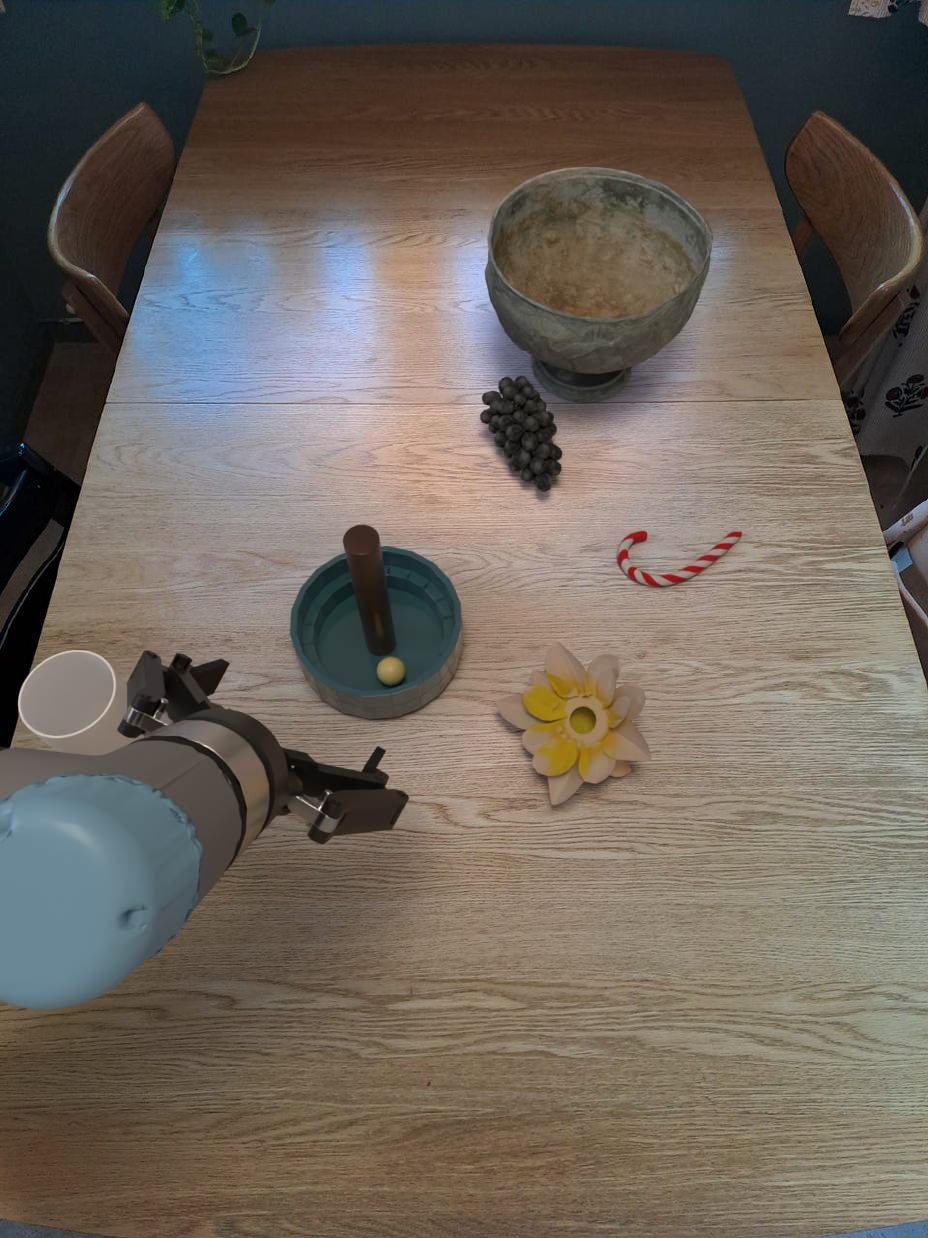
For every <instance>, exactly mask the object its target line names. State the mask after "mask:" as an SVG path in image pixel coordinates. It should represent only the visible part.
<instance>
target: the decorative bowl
mask: <svg viewBox="0 0 928 1238" xmlns="http://www.w3.org/2000/svg"><path fill="white" fill-rule="evenodd" d="M713 241H714V236H713V231H712V227H711V226H710V224H709V223H708V221H707V220H706V219H705V217H704V216H703V215H702V214H701V213H700V212H699V211H698V210H697V208H696V207H695V206H694V205H693V204H692V203H690V201H689V200H687V199H686V198H685V197H684V196H683V195H681V194H680V193H679V192H677V191H676V190H674V189H673V188H671V186H669V185H666V184H664V183H662V182H660V181H658V180H655V179H652V178H647V177H646V176H643V175H641V174H637V173H633V172H630V171H627V170H620V169H615V168H607V167H606V168H605V167H601V166H600V167H598V166H575V167H573V166H572V167H564V168H559V169H554V170H551V171H547V172H544V173H542V174H538V175H536V176H533V177H532V178H530V179H527V180H525V181H523V182H522V183H520V184H519V185H518V186H515V188H513V189H512V190H511V191H510V192H509V193H507V194H506V195H504V197H503V198H502V199H501V201H500V202H499V203H498V205H497V206H496V208H495V209H494V211H493V213H492V216H491V220H490V223H489V228H488V234H487V249H488V250H487V263H486V266H485V269H484V280H485V285H486V288H487V292H488V293H487V294H488V297H489V301H490V303H491V305H492V308H493V310H494V311H495V314H496V316H497V318H498V321H499V323H500V326H501V328H502V330H503V332H504V333H505V334H506V336H507V337H508V339H510V341H511V342H512V343H513V344H514V345H515V347H516V346H517V348H519V349H521V351H524V352H526V353H528V354H529V355H531V356H530V367H531V370H532V373H533V375H534V377H535V378H536V380H537V381H538V383H539V385H541V386H542V387H543V388H544V389H545V390H546V391H547V392H548V393H550V394H552V395H554V397H555V396H556V397H557V398H559V399H563V400H567V401H570V402H577V403H593V402H598V401H603V400H605V399H608V398H611V397H613V396H615V395H616V394H618V393H619V392H621V391H622V390H623V389H624V388H625V387H626V386H627V384H628V383H629V381H630V379H631V375H632V370H633V367H634V366H637V365H640V364H641V363H645V362H646V361H647V360H649V359H651V358H652V357H653V358H654V357H655V356H656V355H657V354H658V353H659V352H660V351H661V350H662V349H663V348H665V347H666V346H668V345H669V344H670V343H671V342H672V341H673V340H674V339H675V338H676V337H677V336H678V335H679V334H681V331H682V330H683V328H684V327H685V326H686V325H687V323H688V322H689V320H690V319H691V317H692V316H693V313H694V310H695V309H696V308H695V307H696V305H697V303H698V302H699V299H700V296H701V293H702V290H703V288H704V285H705V282H706V280H707V276H708V273H709V272H710V271H709V270H710V266H711V254H712V249H713Z"/></svg>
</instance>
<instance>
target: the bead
mask: <svg viewBox="0 0 928 1238" xmlns="http://www.w3.org/2000/svg"><path fill="white" fill-rule="evenodd" d="M405 672H406V670H405V666H404V664H403V662H402V661H401V660H400V659H398V658H396V657H387V658H384V659H383V660H381V661H380V663H379V664H378V666H377V676H378V678H379V680H380V681H381V682H382V683H384V684H386V685H390V686H393V685H397V684H399V683H400V682H401V681H402V680H403V678H404V676H405Z"/></svg>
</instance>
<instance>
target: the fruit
mask: <svg viewBox="0 0 928 1238" xmlns="http://www.w3.org/2000/svg"><path fill="white" fill-rule="evenodd" d="M497 386H498V387H497V388H498V391H497V390H488V391H486V392H483V394H482V396H481V401H482V403H483V405H485V406H489V407H488V408H486V409H484V410H482V412H481V413H480V414H479V418H480V422H481V423H482V424H484V425H487V427H488V430H489V432H490V433H491V434H493V435H494V439H493V441H494V445H495V446H496V447H497V448H499V449H500V448H501V449H502V455H503V456H504V457H505V458H506V459H508V460H509V462H508V464H507V466H508V468H509V469H510V470H511V471H512V472H515V473H517V472H520V478H521V480H523V481H524V482H526V483H530V482H534V483H535V485H536V487H537V490H538V491H539V492H541V493H546V492H549V491H550V490H551V489H552V486H553V481H552V478H551V477H555V478H556V477H558V476H559V475H560V474H561V472H562V469H563V467H562V463H560V462H559V461H560V460H561V459H562V458H563V453H564V452H563V450H562V448H560V446H558V445H556V444H555V443H554V440H553V437H554V436H555V435H556V434H557V432H558V427H557V425H556V424H555V423H554V421H555V415H554V413H553V412H552V411H549V410H547V409H548V404H547V402H546V401H545V400H544V399H543V398H542V397H541V394H540V392H539V391H538V390H537V389H535V386H534V385H533V383H532V382H530V380H529V379H528V377H527V376H525V375H518V376H516V378H515V379H512V378H511V377H510V376H503V377H501V378H500V379H499V381H498V385H497Z"/></svg>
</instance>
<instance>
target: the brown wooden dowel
mask: <svg viewBox="0 0 928 1238" xmlns="http://www.w3.org/2000/svg"><path fill="white" fill-rule="evenodd" d="M342 545H343V550H344V553H345V554H346V558H347V563H348V567H349V571H350V576H351V580H352V584H353V589H354V593H355V597H356V602H357V606H358V611H359V615H360V619H361V624H362V628H363V632H364V637H365V641H366V645H367V648H368V650H369V651H370V652H371V653H372V654H374V655H376V656H385V655H388V654H389V653H391V652H392V651H393V650H394V648H395V646H396V638H395V631H394V625H393V619H392V613H391V606H390V600H389V594H388V588H387V581H386V575H385V569H384V562H383V556H382V550H381V546H382V544H381V538H380V534H379V532H378V531H377V529H375V528H374V527H372V526H371V525H369V524H368V525H367V524H356V525H353V526H351V527H349V528H348V529H347V530H346V531H345V533H344V534H343V538H342Z"/></svg>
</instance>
